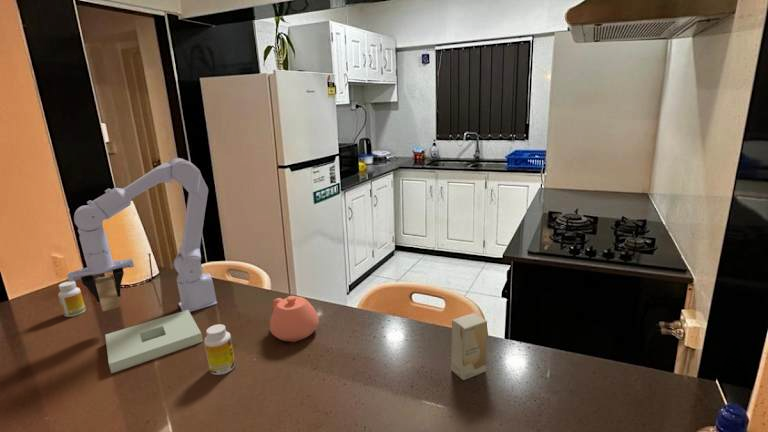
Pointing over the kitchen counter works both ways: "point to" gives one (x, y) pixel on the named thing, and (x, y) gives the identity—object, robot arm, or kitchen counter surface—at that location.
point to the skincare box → (469, 345)
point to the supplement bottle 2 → (219, 350)
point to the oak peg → (107, 292)
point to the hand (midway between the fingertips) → (109, 298)
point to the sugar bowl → (293, 319)
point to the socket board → (132, 351)
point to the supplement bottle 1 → (71, 299)
